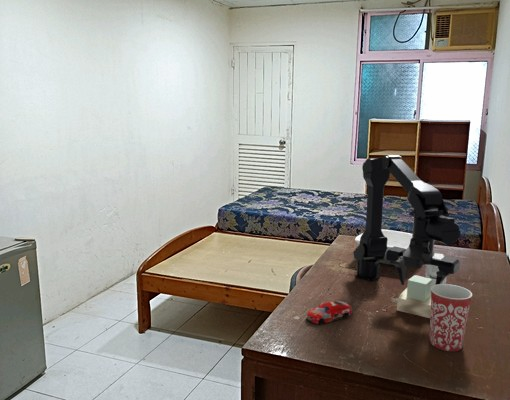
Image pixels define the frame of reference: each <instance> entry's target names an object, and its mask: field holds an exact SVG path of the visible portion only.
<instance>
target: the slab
mask: <svg viewBox="0 0 510 400" xmlns="http://www.w3.org/2000/svg"><path fill="white" fill-rule="evenodd" d="M396 303H397V304H396V311H399V312H403V313H407V314H411V315H414V316H415V315H416V316H420V317H423V318H428V319H430V317H431V296H430V297H429V298H428V299H427V300H426V301H425V302H424V301H420V300H417V299H413V298H409V297H407V287H406V288H405V289H404V290H403V291H402V292H401V293H400V295H399V296H398V297H397V302H396Z"/></svg>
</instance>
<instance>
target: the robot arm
mask: <svg viewBox="0 0 510 400" xmlns="http://www.w3.org/2000/svg"><path fill="white" fill-rule="evenodd" d="M361 169H362V177H363V180H364V182H365V183H366V185H367V193H366V217H365V218H366V219H365V220H366V221H365V230H364V232H363V234H362V233H361V234H362V236H361V237H360V244H358V246H356V248H355V249H354V250H353V252H352V254H353V258H354V259H355V260H357V268H356V269H357V271H356V274H354V277H355V278H359V279H361V280H367V281H370V282H373V281H375V280H377V279H379V278H380V277H381V264H380V262H379V260H383V259H384V256H385V259H386V260H390V263H392V264H393V265H392V266H394V267H395V268H396V271H397V273H398V276H399V280H400V284H401V285H402V286H404V285H405V283H406V275H407V267H411V268H414V269H416V270H417V269H419V270H420V269H421V268H422V267H423V266H424V265H425V266H426V265H429V264H430V265H434V266H438V269H439V271H437V272H436V274H437V278H436V284H435V285H437V284H442V282H443V280H444V279H445V277H446V276H447V277H448V276H450V275H454V274H455V273H456V272H458V271H459V269H460V266H461V265H460V264H461V263H460V260H459V259H458V258H454V257H450V256H444V257H443V258H442V259H441V260H440V259H435V258H433V256H434V253H435V251H434V246H435V242H439V243H442V244H444V245H446V246H451V245H454V244H455V243H457V242H458V240H459V239H460V236H461V235H460V234H461V231H460V227H459V226H458V224H456V222H455V218H454V217H450V214H449V211H448V208H447V205H446V204H445V201H444V199H443V196H442V193H441V191H440V190H439V189H437V188H436V187H435V186H433V185H431V184H430V183H426V182H425V181H423V180H421V178H419V177H418V176H417V174H416V173H415V172H414V171H413V169H412V168H410V167H409V165H408V164H407V163H406V162H405V161H404V159H403V157H402V156H400V155H398V154H396V155H395V154H394V155H393V154H391V155H385V156H382V157H378V158H377V157H376V158H374V157H373V158H372V157H371V158H367V159H365V161H363V163H362V167H361ZM391 175H392V177H394V179H395V180H396V181H397V182H398V183H399V185H400V186H401V187H402V188H403V189H404V191H406V193H407V201H408V202H409V204H410V206H411V207H412V209H413V210H411V211H410V212H409V213H408V215H409V216H411V217H413V224H412V233H411V234H412V239H411V241H410V245H409V247H408V248H407V249H405V248H400V247H395V246H394V247H392V248H391V249H389V250H387V241H388V239H387V237H385V236H384V235H383V233H382V227H383V212H384V211H383V208H384V206H383V205H384V190H385V186H386V184H387V183H388V182H389V180H390V176H391ZM386 250H387V251H386ZM385 253H386V255H385Z"/></svg>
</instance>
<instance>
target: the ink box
mask: <svg viewBox="0 0 510 400" xmlns="http://www.w3.org/2000/svg"><path fill="white" fill-rule="evenodd" d="M443 257H445V255H444V254H443V253H437V252H434V256H433V258H435V259H440V260H441V259H442V258H443ZM437 271H439V269H438V266H434V265H430V264H429V265H426V264H425V272H424V273H425V275H424V277H425V278H430V279H432V286H434V285H435V284H436V278H437V274H436V272H437ZM447 278H448V276H446V277H445V279H444V280H443V282H442V284H447Z"/></svg>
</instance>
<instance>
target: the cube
mask: <svg viewBox="0 0 510 400" xmlns="http://www.w3.org/2000/svg"><path fill="white" fill-rule="evenodd" d="M431 287H432V279H430V278H425V276H420V275H417V274H414V275H413V276H412V277H410V278H409V279H407V287H406V288H407V297H409V298H413V299H417V300H420V301H424V302H425V301H426V300H427V299H428V298H429V297H430V296H431Z"/></svg>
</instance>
